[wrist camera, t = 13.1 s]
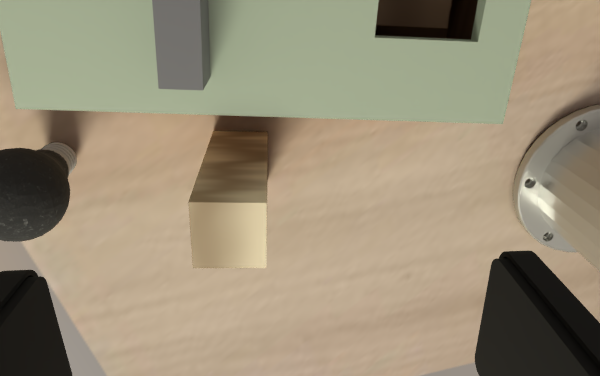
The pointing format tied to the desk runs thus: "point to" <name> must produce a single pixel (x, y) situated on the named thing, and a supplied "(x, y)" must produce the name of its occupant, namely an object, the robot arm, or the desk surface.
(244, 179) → the block
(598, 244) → the robot arm
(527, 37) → the desk surface
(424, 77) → the lid
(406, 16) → the brown wooden box
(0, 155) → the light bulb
